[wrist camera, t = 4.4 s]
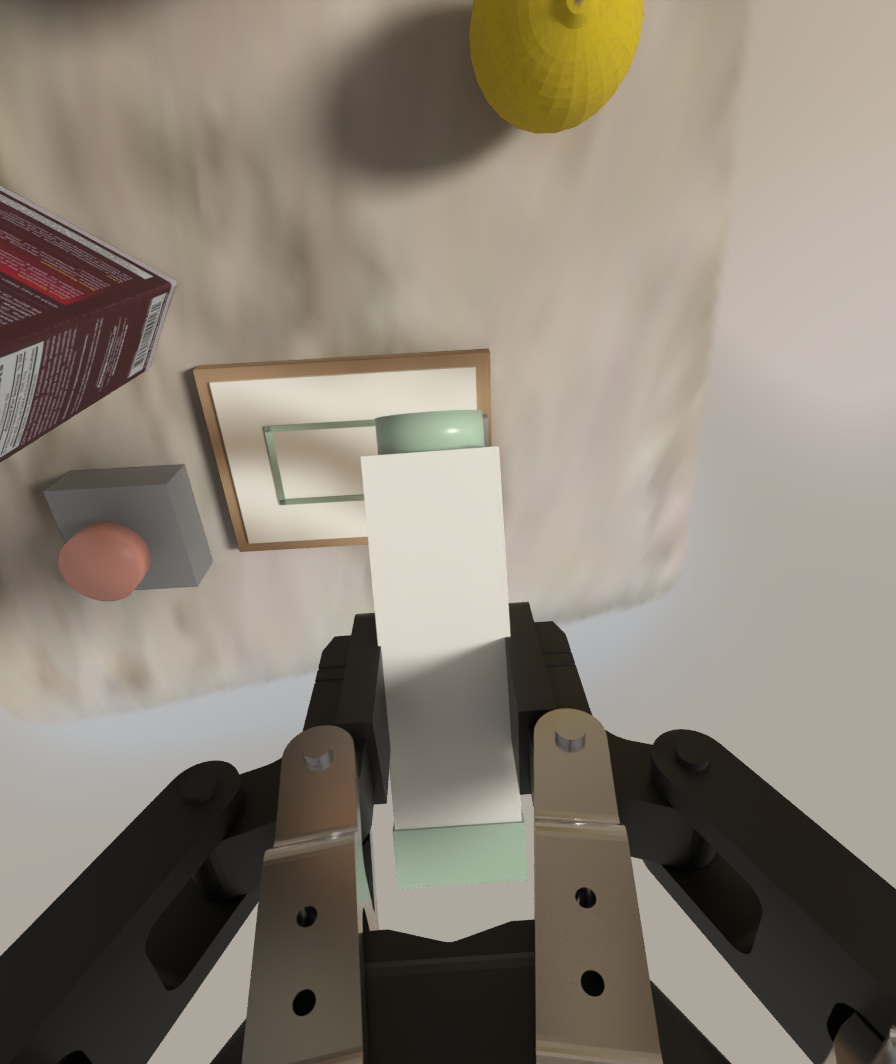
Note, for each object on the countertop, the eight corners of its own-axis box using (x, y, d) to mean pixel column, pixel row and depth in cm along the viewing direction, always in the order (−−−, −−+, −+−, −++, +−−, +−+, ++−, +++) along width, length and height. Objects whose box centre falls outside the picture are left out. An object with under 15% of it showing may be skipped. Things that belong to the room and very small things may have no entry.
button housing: (70, 471, 31) (43, 491, 29) (184, 464, 31) (166, 484, 29) (107, 567, 34) (85, 592, 32) (212, 561, 34) (197, 586, 32)
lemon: (441, 8, 22) (447, -78, 15) (581, -67, 22) (655, -196, 15) (493, 166, 25) (517, 153, 18) (620, 105, 24) (699, 65, 17)
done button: (63, 523, 28) (45, 539, 27) (138, 519, 28) (124, 534, 27) (89, 585, 30) (73, 603, 29) (160, 581, 30) (148, 598, 29)
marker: (353, 416, 12) (398, 889, 13) (499, 405, 12) (527, 880, 13) (372, 422, 15) (406, 810, 16) (488, 414, 15) (513, 803, 16)
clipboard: (198, 365, 29) (188, 373, 27) (488, 348, 29) (491, 355, 27) (243, 544, 34) (236, 557, 32) (491, 529, 34) (494, 542, 32)
